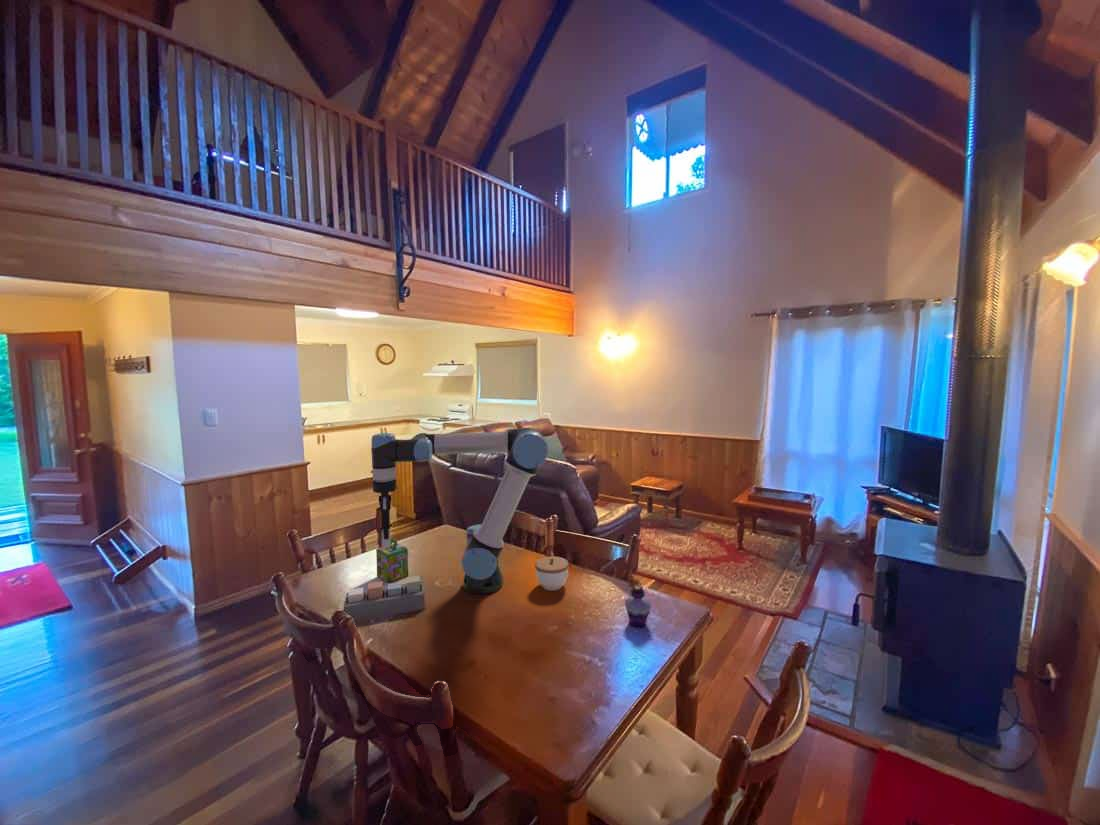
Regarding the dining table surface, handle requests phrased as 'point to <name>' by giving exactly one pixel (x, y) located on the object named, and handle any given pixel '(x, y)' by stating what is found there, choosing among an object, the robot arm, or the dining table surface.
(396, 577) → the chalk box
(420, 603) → the console
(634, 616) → the potion bottle
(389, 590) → the slate key
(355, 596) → the ivory key
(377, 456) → the robot arm
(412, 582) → the sage key
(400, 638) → the dining table surface
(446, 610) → the dining table surface
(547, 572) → the lidded bowl
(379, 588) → the terracotta key
